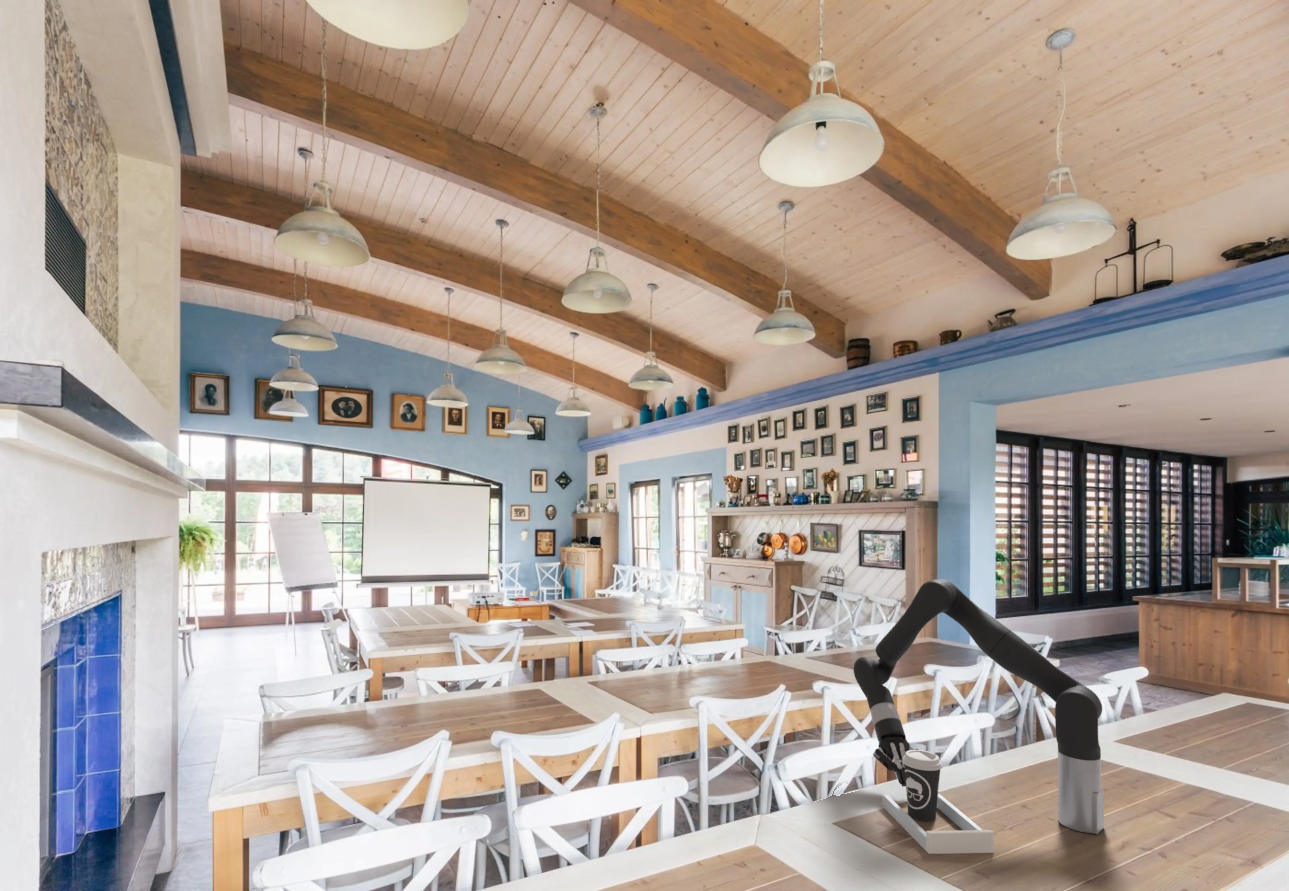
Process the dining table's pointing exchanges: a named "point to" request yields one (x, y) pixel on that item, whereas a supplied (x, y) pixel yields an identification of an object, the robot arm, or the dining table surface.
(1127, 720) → the dining table surface
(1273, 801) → the dining table surface
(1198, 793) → the dining table surface
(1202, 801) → the dining table surface
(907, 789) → the coffee cup
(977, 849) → the white rectangular tray frame
